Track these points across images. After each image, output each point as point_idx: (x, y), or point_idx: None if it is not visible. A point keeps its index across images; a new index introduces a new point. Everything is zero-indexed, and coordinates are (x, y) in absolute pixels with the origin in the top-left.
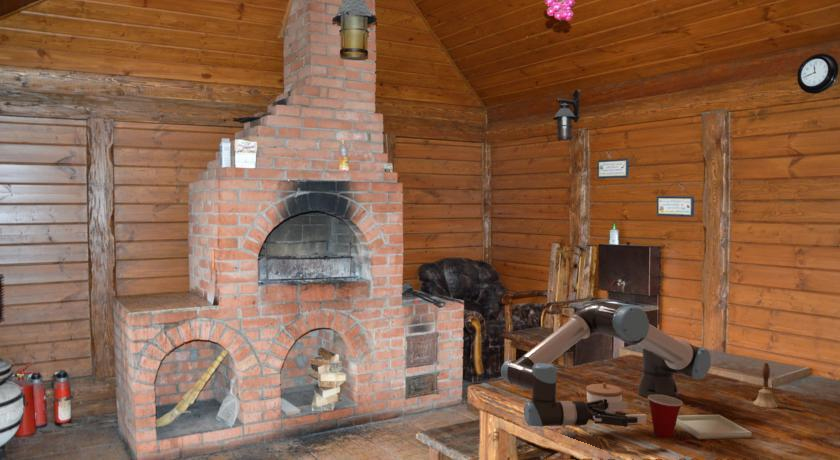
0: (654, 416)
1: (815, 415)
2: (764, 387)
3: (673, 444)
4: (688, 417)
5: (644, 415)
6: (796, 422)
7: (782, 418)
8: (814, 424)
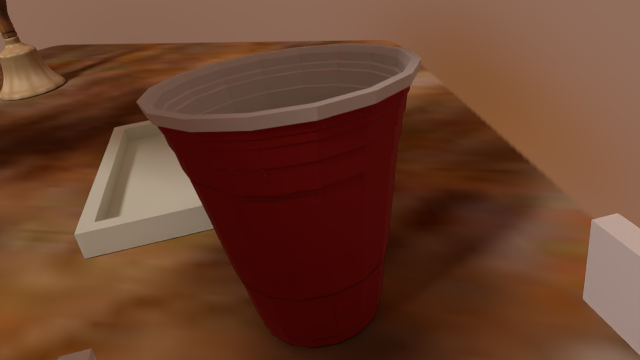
0: (342, 233)
1: (139, 52)
2: (12, 39)
3: (499, 276)
4: (107, 190)
5: (634, 229)
6: (181, 64)
7: (146, 75)
8: (199, 52)
